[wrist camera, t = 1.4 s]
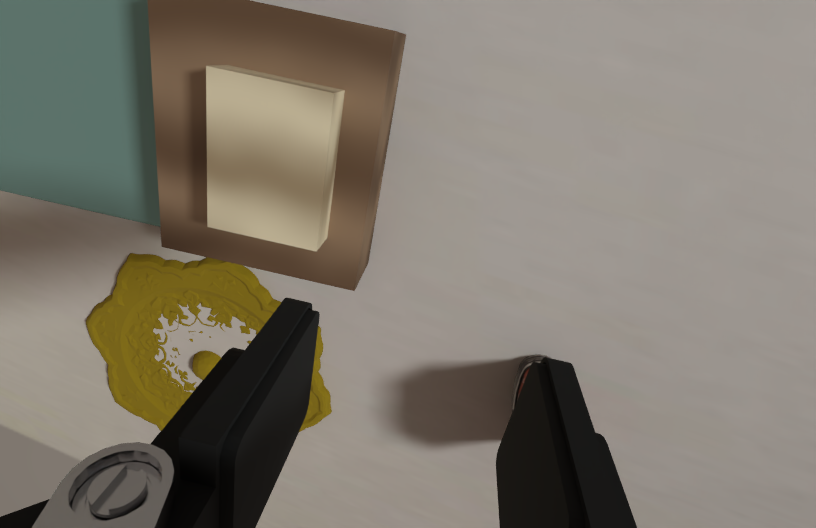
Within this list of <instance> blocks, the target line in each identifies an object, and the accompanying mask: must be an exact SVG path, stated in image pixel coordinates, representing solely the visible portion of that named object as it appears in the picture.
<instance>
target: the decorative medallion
mask: <svg viewBox="0 0 816 528" xmlns="http://www.w3.org/2000/svg"><path fill="white" fill-rule="evenodd" d="M199 303H201V306H202V307H207V308H211V309H212V310H211V313H210V314H212V315H213V316H214V315H216V314H217V315H216V316H215V318H214V317H213V316H211V315H210V316H209V317H208V318H207V320H209V321H211V322H212V320H214V321H216V323H215V325H214V326H216V325H217V324H218V322H220V323H221V324H220V325H219V326H220V328H221V329H222V327H221V325H222V324H223V323H224V324H226V325H225V326H227V327H230V328H231V327H232V326H231V323H230V322H231V320H232V316H234V317H236V318H237V319H239V320H240V321H242V322H245V324H246V327H245V326H240V329H241V333H246V334H250V330H249V328H252V329H254V330H256V334H258V333H259V331H260V330H261V329H262V327H263V326H264V325H265V323H266V322H267V321H268V320H269V318H270V317H271V316H272V314H273V313H274V312H275V310H276V309H277V308H278V306H279V305H280V304H281V303H282V302H280V301H277V300H274V299H273V298H272V296H271V295H270V293H269V291H268V290H267V289H266V288H264V287H263V286H262V285H260V283H259V281H258V279H257V277H256V276H255V275H254V274H253V273H252V272H251V271H250V270H249V269H247V268H246V267H244V266H243V265H239V264H235V263H231V262H226V261H222V260H218V259H213V258H209V257H206V258H205V259H203V260H201V261H191V262H188V263H186V264H185V263H183V262H180V261H177V260H164V259H163V258H161V257H159V256H156V255H150V254H133V253H130V255H129V256H128V258H127V261H126V262H125V263H124V264H123V266H122V267H121V269H120V271H119V273H118V276H117V283H116V285H115V288H114V290H113V294H112V295H109V296H108V297H107V298H106V299H105V301H104V302H101V303H98V304H97V305H96V306H95V307H94V309H93V311H92V313H91V314H90V315H89V316H88V317H87V320H86V325H87V328H88V332H89V335H90V337H91V340H92V342H93V344H94V345H95V347H96V348H97V349H98V350H99V351H100V353H101V355H102V357H103V358H104V360H105V361H106V363H107V364H108V369H107V370H108V376H109V380H108V383H109V388H110V390H111V392H112V395H113V397H114V400H115V402H116V403H118V404H119V405H120V406H122V407H123V408H124V409H126V410H127V411H129V412H130V413H132V414H134V415H136V416H139V417H141V418H143V419H144V420H146V421H148V422H150V423H153V424H155V425H157V426H158V428H159V429H160V430H161V431H162V429H163V428H164V427H165V426H166V425H167V423H168V422H169V421H170V420H171V419H172V417H173V416H174V415H175V414H176V412H177V411H178V410H179V409H180V408H181V406H182V405H183V404H184V403H185V402H186V400H187V399H188V398H189V397H190V395H191V394H192V393H191V392H186V391H189V390H194V391H195V388H194V387H193V386H194V385H195V383H196V382H195V383H193V384H191V383H189V382H186V381H185V380H183V377H184V379H187V377H186V376H185V375H187V372H185V371H184V373H183V372H182V371H181V370H179V369H178V371H179V375H181V376H180V378H181V380H182V381H183V382H185V385H184V389H183V386H182V385H181V384H180V383H179V382H178V381H177V380H176V379H173V378H172V377H171V372H170V370H169V369H168V368H167V367H166V366H165V365H164V364H162V363H164V362H165V361H166V352H165V350H164V348H163V347H162V346H160V345H164V344H165V343H166V342H167V339H168V338H167V334H166V333H165V335H166V338H165V341H164V342H158V339H160V340H161V338H160V334H157V335H156V334H155V333H154V332H153V329H154V328H156V329H163V326H162V323H161V322H160V321H159V320H158V318H160V317H161V314H163V316H164V317H165V318H167V319H169V320H168V324H169V326H171V325H173V324H172V323H173V321H174V320H175V319H177V314H178V316H179V322H178V324H179V323H180V324H182V325H185V326H191V325H192V324H194V323H195V321H196V319H197V318H198V313H199V312H200V311H201V310H200V309H198V308H197V307H196V306H197V305H198V304H199ZM178 304H180V305H181V306H182V307H187V304H188V306H189V309H188V310H189V311H190V312H191V313H193V314H194V315H195V316H196V319H195V321H194V323H192V324H191V325H187V324H184V323H182V321H181V319H186V320H187V319H188V317H187V316H185V315H183V311H182V310H181V308H180V307H179V305H178ZM198 320H199V321H200V319H199V318H198ZM175 321H176V320H175ZM176 322H177V321H176ZM200 322H201V321H200ZM201 324H203V323H202V322H201ZM203 325H207V324H203ZM207 326H211V325H207ZM214 326H212V327H214ZM177 329H178V328H177ZM177 329H176V330H177ZM222 330H223V329H222ZM167 331H168V330H167ZM173 331H175V330H173ZM223 331H224V330H223ZM170 332H172V331H170ZM189 332H195V331H189ZM225 332H226V331H225ZM200 333H202V331H201V332H200ZM209 337H210V338H211V336H209ZM189 340H191V341H192V342H193V340H192V339H189ZM247 342H248V343H249V344H250V343H251V342H252V341H247ZM158 348H160V349H161V350H162V351H163V353H164V359H162V360H161V361H159V362H158V361H157V360H156V359H155V358H154V357H155V355H156V354H157V355H159V350H158ZM173 348H174V347H173ZM175 349H176V350H177V351H178V349H177V348H175ZM175 349H172V350H173V351H176V350H175ZM322 352H323V343H322V338H321V328H320V327H319V326H318V332H317V341H316V349H315V357H314V366H313V374H312V382H311V390H310V399H309V406H308V410H307V414H306V417H305V419H304V422H303V424H302V426H301V428H300V430H299V432H300V431H302V430H304V429H305V428H308V427H311V426H314V425H315V424H317V423H318V422H320V420H322V419H323V418H324V417H326V416H327V415H329V414H330V413H331V412H332V410H331V405H330V402H331V401H330V394H329V391H328V390H327V389H326V388H325V386H324V382H323V379H322V376H321V375H320V374H319V372H318V371H319V369H320V367H321V365H320V359H319V358H320V357H321V355H322ZM178 354H179V352H178ZM179 355H180V354H179ZM170 356H171V357H172V355H170ZM175 358H177V357H176V356H175ZM220 359H221V357H220V356H218V355H217V354H215V353H213V352H210V351H200V352H198V353H197V354H195V355H194V358H193V364H192V367H193V370H192V371H193V372H194V374H195V375H196V376H197V377H199V378H200V379H202V380H204V378H205V377H206V376H207V375H208V374H209V372H210V371H211V370H212V369H213V368H214V366H215V365H216V364H217V363H218V361H219V360H220ZM165 364H167V365H169V366H170V367H171V366H174V365H175V364H174V363H173V362H172V364H171V365H170V362H169V361H167V362H166V363H165ZM177 367H178V366H176V367H175V368H174V369H175V373H177V374H178V372H177ZM162 368H166V369H167V373H166V371H165V370H164V369H162ZM165 375H166V376H165ZM171 382H174V383H176V384H174V383H171ZM188 383H189V384H188ZM177 384H178V385H179V387H178V385H177ZM196 388H197V387H196ZM184 390H186V391H184Z"/></svg>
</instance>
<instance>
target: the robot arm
mask: <svg viewBox="0 0 816 528" xmlns="http://www.w3.org/2000/svg"><path fill="white" fill-rule="evenodd" d="M318 324H319V312H318V311H313V310H312V304H311V303H308V302H304V301H299V300H295V299H291V298H285V299H284V300H283V301H282V303H281V304H280V305H279V306H278V308H277V309H276V310H275V312H274V313H273V314H272V316H271V317H270V318H269V320H268V321H267V322H266V323H265V325H264V326H263V327H262V329H261V330H260V331H259V333H258V334H257V335H256V337H255V338H254V339H253V340H252V342H251V343H250V344H249V346H248V347H247V348H246V350H241V349H237V348H231V349H229V350H228V351H227V352H226V353H225V354H224V355H223V357H222V358H221V359H220V360H219V361H218V363H217V364H216V365H215V366H214V368H213V369H212V370H211V371H210V372H209V374H208V375H207V376H206V377H205V378H204V380H203V381H202V382H201V383H200V385H199V386H198V387H197V388H196V389H195V391H194V392H193V393H192V394H191V395H190V397H189V398H188V399H187V400H186V402H185V403H184V404H183V405H182V406H181V408H180V409H179V410H178V411H177V412H176V414H175V415H174V416H173V417H172V419H171V420H170V421H169V422H168V423H167V425H166V426H165V427H164V428H163V429H162V431H161V432H160V433H159V434H158V435H157V437H156V438H155V439H154V440H153V442H152V443H151V444H146V443H140V442H135V443H123V444H118V445H115V446H111V447H108V448H104V449H102V450H100V451H98V452H96V453H94V454H92V455H90V456H88V457H86V458H85V459H84V460H83V461H81V462H80V463H79V464H77V465H76V466H75V467H74V468H72V469H71V471H70V472H69V473H68V474H67V475H66V476H65V478H64V479H63V480H62V481H61V482H60V484H59V486H58V487H57V489H56V490H55V492H54V493H53V495H52V497H51V498H50V499H48V500H46V501H43V502H40V503H38V504H35V505H32V506H29V507H26V508H24V509H21V510H18V511H16V512H13V513H10V514H7V515H5V516H2V517H0V528H255V527H256V525H257V523H258V520H259V518H260V516H261V514H262V512H263V509H264V507H265V505H266V503H267V501H268V499H269V496H270V494H271V492H272V490H273V488H274V485H275V483H276V481H277V479H278V477H279V474H280V472H281V470H282V468H283V466H284V463H285V461H286V459H287V457H288V455H289V452H290V450H291V448H292V446H293V444H294V441H295V439H296V437H297V435H298V433H299V430H300V428H301V426H302V424H303V422H304V419H305V417H306V414H307V410H308V406H309V399H310V390H311V382H312V374H313V366H314V357H315V349H316V341H317V332H318ZM496 474H497V489H498V505H499V520H500V528H637V526H636V523H635V520H634V518H633V515H632V512H631V509H630V506H629V504H628V501H627V498H626V495H625V492H624V490H623V487H622V484H621V481H620V478H619V475H618V473H617V470H616V467H615V464H614V461H613V459H612V456H611V453H610V450H609V447H608V444H607V442H606V440H605V438H604V437H603V436H602V435H601V434H598V433H595V431H594V428H593V425H592V422H591V419H590V416H589V413H588V410H587V407H586V404H585V401H584V398H583V395H582V392H581V389H580V386H579V383H578V380H577V377H576V374H575V371H574V368H573V366H572V364H571V363H568V362H564V361H559V360H555V359H551V358H546V357H545V358H543V359H542V360H541V362H540V363H538V362H533V363H532V364H531V366H530V369H529V371H528V374H527V376H526V379H525V381H524V384H523V387H522V389H521V392H520V394H519V397H518V400H517V402H516V405H515V407H514V410H513V413H512V415H511V418H510V420H509V423H508V425H507V428H506V431H505V433H504V436H503V438H502V441H501V444H500V446H499V449H498V453H497V458H496Z"/></svg>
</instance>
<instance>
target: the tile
mask: <svg viewBox="0 0 816 528" xmlns="http://www.w3.org/2000/svg"><path fill="white" fill-rule="evenodd" d="M344 93H345V90H342V89H337V88H332V87H328V86H323V85H318V84H314V83H309V82H304V81H300V80H295V79H290V78H286V77H281V76H276V75H272V74H267V73H262V72H258V71H253V70H248V69H244V68H239V67H234V66H230V65H214V66H206V117H207V227H210V228H215V229H219V230H223V231H228V232H232V233H237V234H241V235H245V236H250V237H254V238H259V239H263V240H267V241H272V242H276V243H281V244H285V245H289V246H294V247H298V248H303V249H307V250H311V251H316V252H317V250H318V249H319V248H320V247H321V245H322V244H323V243H324V241H325V240H326V239H327V236H328V228H329V219H330V211H331V202H332V194H333V185H334V177H335V169H336V160H337V152H338V143H339V135H340V126H341V118H342V110H343V101H344Z"/></svg>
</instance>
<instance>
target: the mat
mask: <svg viewBox="0 0 816 528" xmlns="http://www.w3.org/2000/svg"><path fill="white" fill-rule="evenodd" d="M0 190H1V191H6V192H10V193H14V194H19V195H23V196H28V197H32V198H36V199H41V200H45V201H49V202H54V203H58V204H63V205H67V206H71V207H76V208H80V209H85V210H89V211H93V212H98V213H102V214H107V215H111V216H115V217H120V218H124V219H128V220H133V221H137V222H142V223H146V224H150V225H155V226H159V227H161V226H160V209H159V191H158V174H157V157H156V139H155V122H154V105H153V88H152V70H151V53H150V36H149V18H148V1H147V0H0Z"/></svg>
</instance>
